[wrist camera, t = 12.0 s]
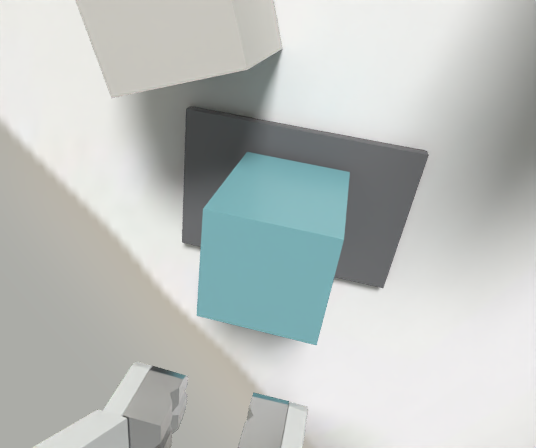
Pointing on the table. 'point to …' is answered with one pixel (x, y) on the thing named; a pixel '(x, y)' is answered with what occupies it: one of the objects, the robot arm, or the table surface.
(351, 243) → the stand
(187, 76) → the light grey block
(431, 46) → the table surface
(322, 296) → the teal block
